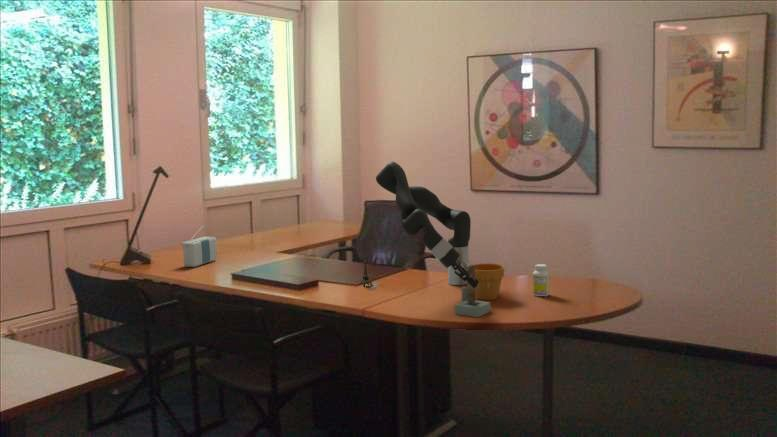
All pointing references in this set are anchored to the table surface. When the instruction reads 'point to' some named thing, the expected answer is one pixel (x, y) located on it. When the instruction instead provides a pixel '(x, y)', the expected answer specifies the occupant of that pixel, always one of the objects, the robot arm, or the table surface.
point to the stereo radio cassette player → (199, 251)
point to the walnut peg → (469, 288)
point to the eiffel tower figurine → (367, 279)
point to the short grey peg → (464, 293)
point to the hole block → (472, 308)
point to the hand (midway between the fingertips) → (476, 284)
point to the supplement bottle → (541, 280)
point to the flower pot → (488, 280)
